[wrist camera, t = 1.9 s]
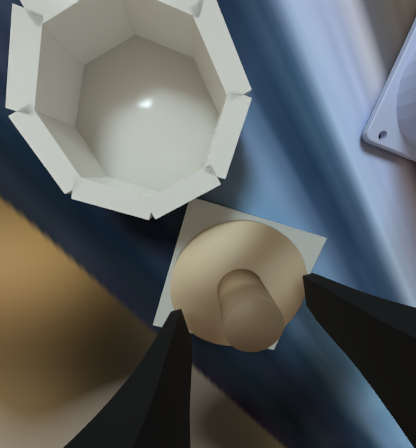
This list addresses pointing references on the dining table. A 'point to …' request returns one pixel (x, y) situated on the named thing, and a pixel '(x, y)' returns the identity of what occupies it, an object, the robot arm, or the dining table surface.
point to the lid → (238, 284)
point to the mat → (213, 214)
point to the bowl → (127, 98)
